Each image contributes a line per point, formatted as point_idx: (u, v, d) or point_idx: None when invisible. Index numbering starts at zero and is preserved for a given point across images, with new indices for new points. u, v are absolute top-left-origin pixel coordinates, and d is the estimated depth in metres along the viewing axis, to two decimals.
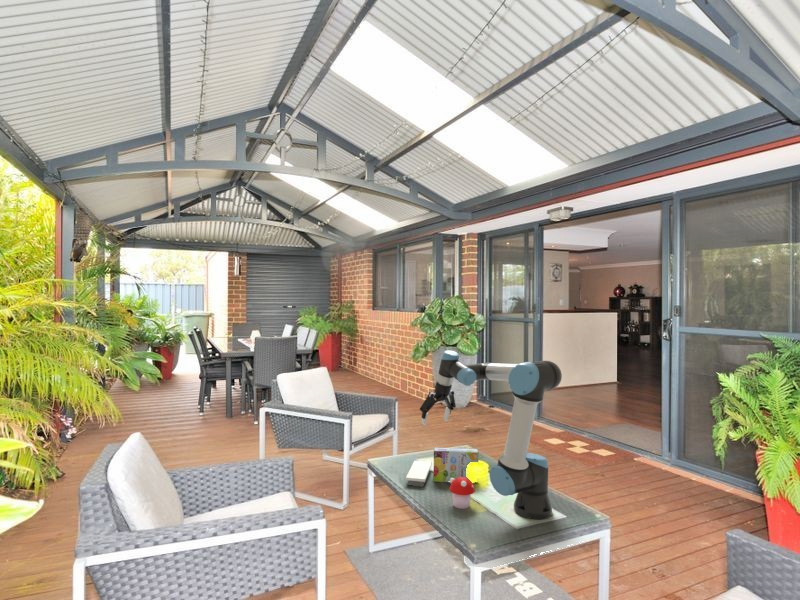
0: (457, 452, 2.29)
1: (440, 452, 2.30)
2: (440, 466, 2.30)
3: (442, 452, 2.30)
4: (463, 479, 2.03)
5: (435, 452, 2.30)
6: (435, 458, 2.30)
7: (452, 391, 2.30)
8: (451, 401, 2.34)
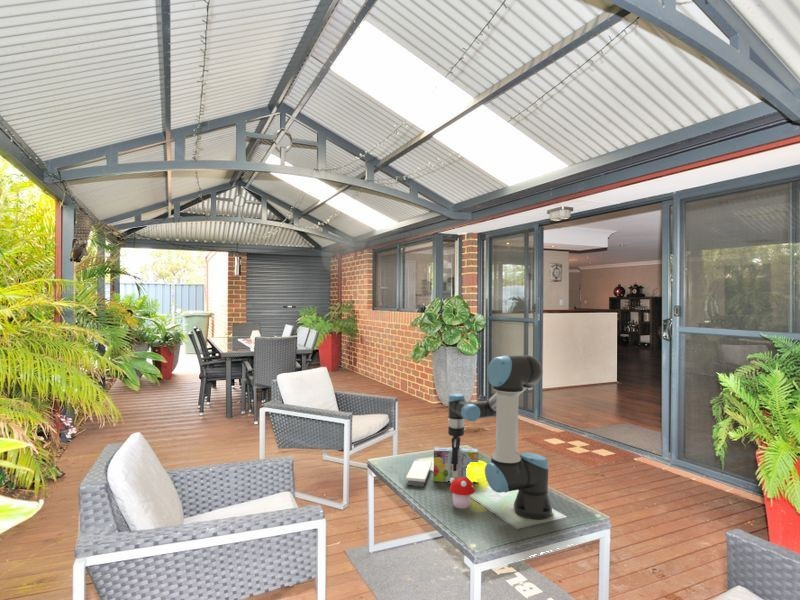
0: None
1: (440, 452, 2.30)
2: (440, 465, 2.30)
3: (442, 452, 2.30)
4: (463, 479, 2.03)
5: (435, 452, 2.30)
6: (435, 458, 2.30)
7: (458, 435, 2.37)
8: None
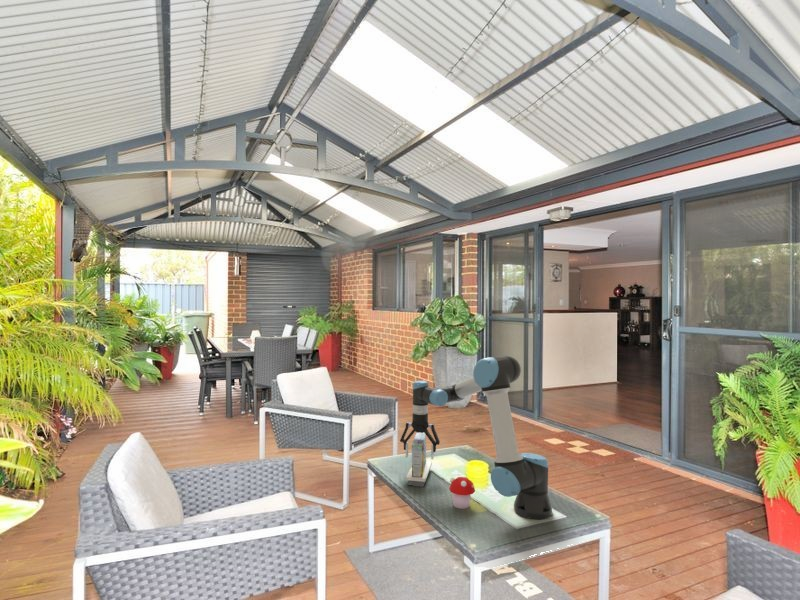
0: (424, 439, 2.36)
1: (423, 445, 2.28)
2: (423, 458, 2.28)
3: (423, 444, 2.29)
4: (463, 479, 2.03)
5: (422, 447, 2.25)
6: (422, 453, 2.25)
7: (408, 422, 2.37)
8: None
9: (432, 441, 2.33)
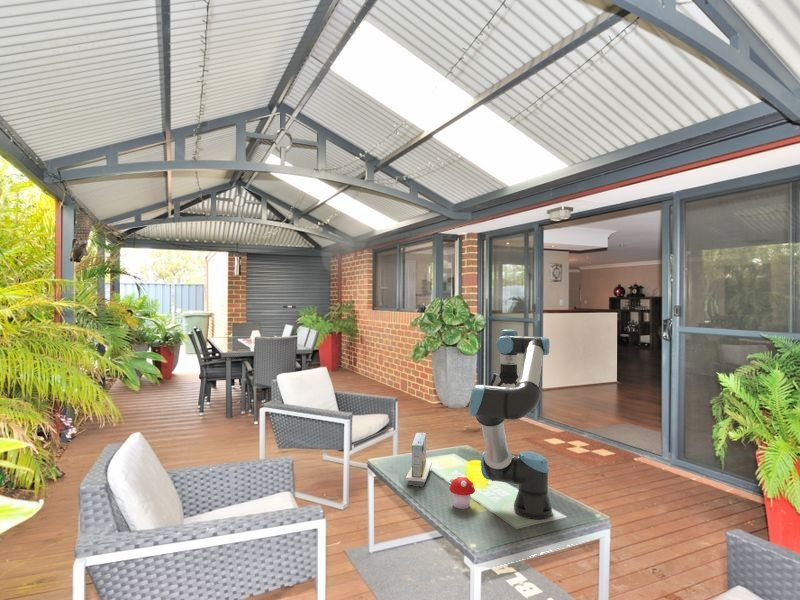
0: (424, 439, 2.36)
1: (423, 445, 2.28)
2: (423, 458, 2.28)
3: (423, 444, 2.29)
4: (463, 479, 2.03)
5: (422, 447, 2.25)
6: (422, 453, 2.25)
7: (495, 373, 2.23)
8: None
9: None
